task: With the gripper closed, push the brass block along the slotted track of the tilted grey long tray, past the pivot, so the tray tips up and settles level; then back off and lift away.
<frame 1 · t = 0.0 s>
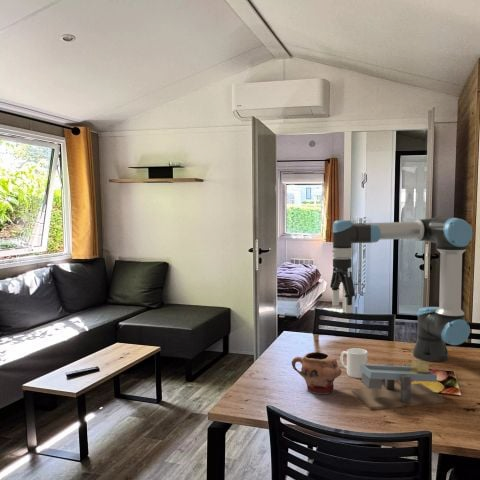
hand: (341, 309, 198), 28 cm above the table, tool pointing down, fingers open, 13 cm apart
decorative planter: (315, 390, 185), on the table
beam stand: (397, 397, 177), on the table
grey long tray: (397, 378, 176), point 7 cm above the table, hinge at -7.3°, touching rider
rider: (418, 373, 178), point 8 cm above the table, tilted 7°, touching grey long tray
cup: (353, 374, 201), on the table
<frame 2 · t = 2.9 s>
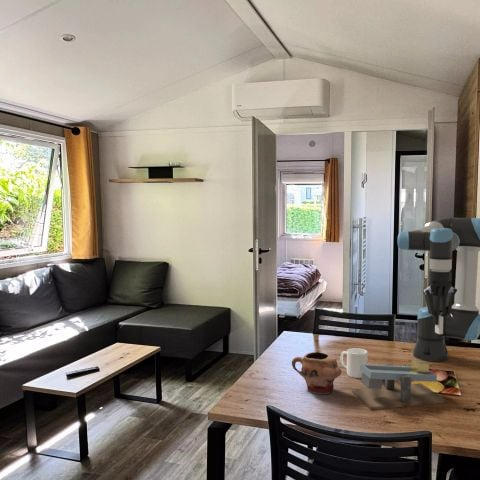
hand: (438, 333, 178), 23 cm above the table, tool pointing down, fingers closed
nothing on the table moved.
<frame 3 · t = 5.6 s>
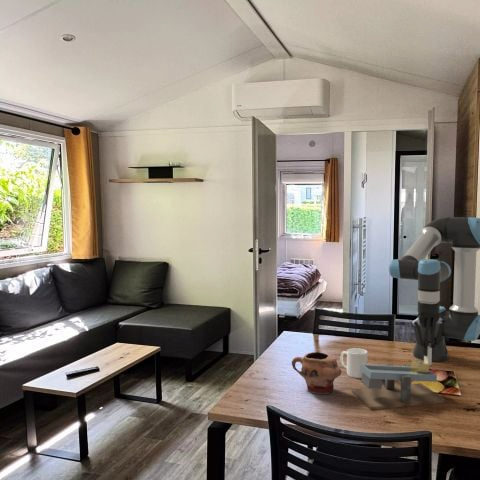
hand: (427, 363, 178), 12 cm above the table, tool pointing down, fingers closed
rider: (418, 373, 178), point 8 cm above the table, tilted 7°, touching grey long tray, gripper
everything else where it was.
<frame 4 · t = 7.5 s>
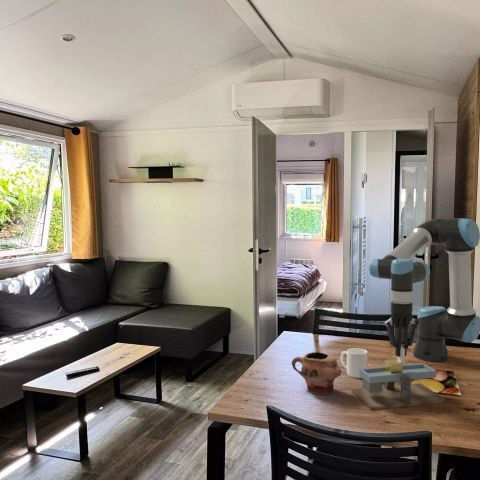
hand: (400, 364, 176), 12 cm above the table, tool pointing down, fingers closed
grey long tray: (397, 378, 176), point 7 cm above the table, hinge at 0.3°, touching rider
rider: (393, 373, 176), point 9 cm above the table, touching grey long tray, gripper
everything else where it was.
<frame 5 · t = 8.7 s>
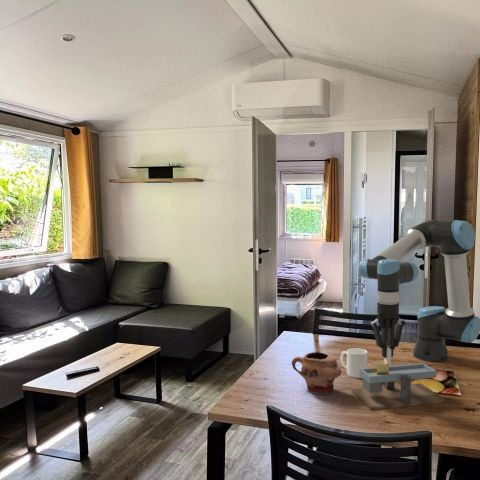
hand: (387, 365, 175), 12 cm above the table, tool pointing down, fingers closed
grey long tray: (397, 378, 176), point 7 cm above the table, hinge at 0.3°
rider: (379, 374, 175), point 9 cm above the table, touching gripper
everything else where it was.
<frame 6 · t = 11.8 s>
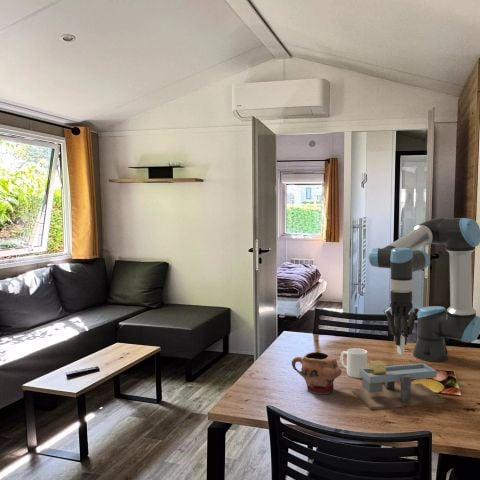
hand: (400, 353, 176), 16 cm above the table, tool pointing down, fingers closed
grey long tray: (397, 378, 176), point 7 cm above the table, hinge at 0.3°, touching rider
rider: (377, 374, 175), point 9 cm above the table, touching grey long tray
everything else where it was.
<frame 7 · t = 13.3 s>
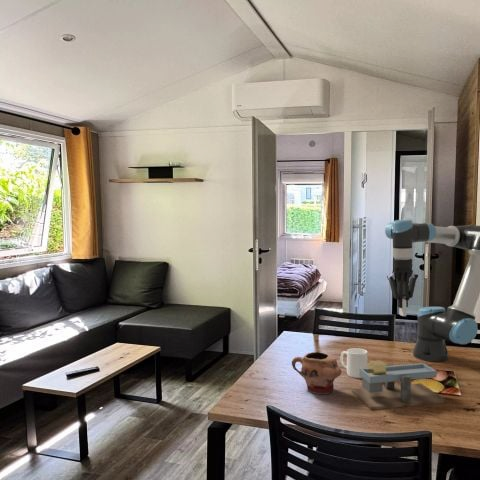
hand: (402, 315, 196), 26 cm above the table, tool pointing down, fingers closed
nothing on the table moved.
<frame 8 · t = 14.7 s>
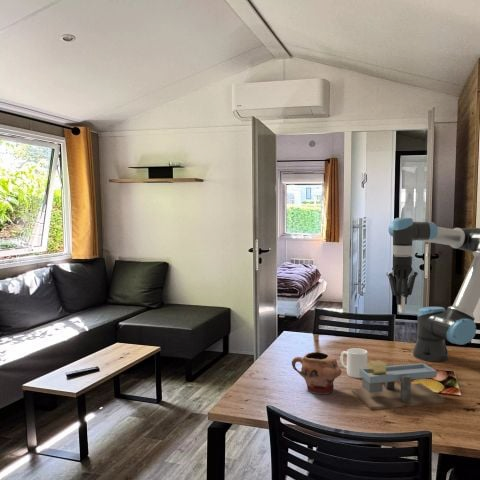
hand: (401, 312, 198), 26 cm above the table, tool pointing down, fingers closed
nothing on the table moved.
at the end: grey long tray at +0° (first picture: -7°); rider inside the target area on the grey long tray (0.6 cm from its centre), point 1.2 cm above the grey long tray's base; the gripper is holding nothing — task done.
